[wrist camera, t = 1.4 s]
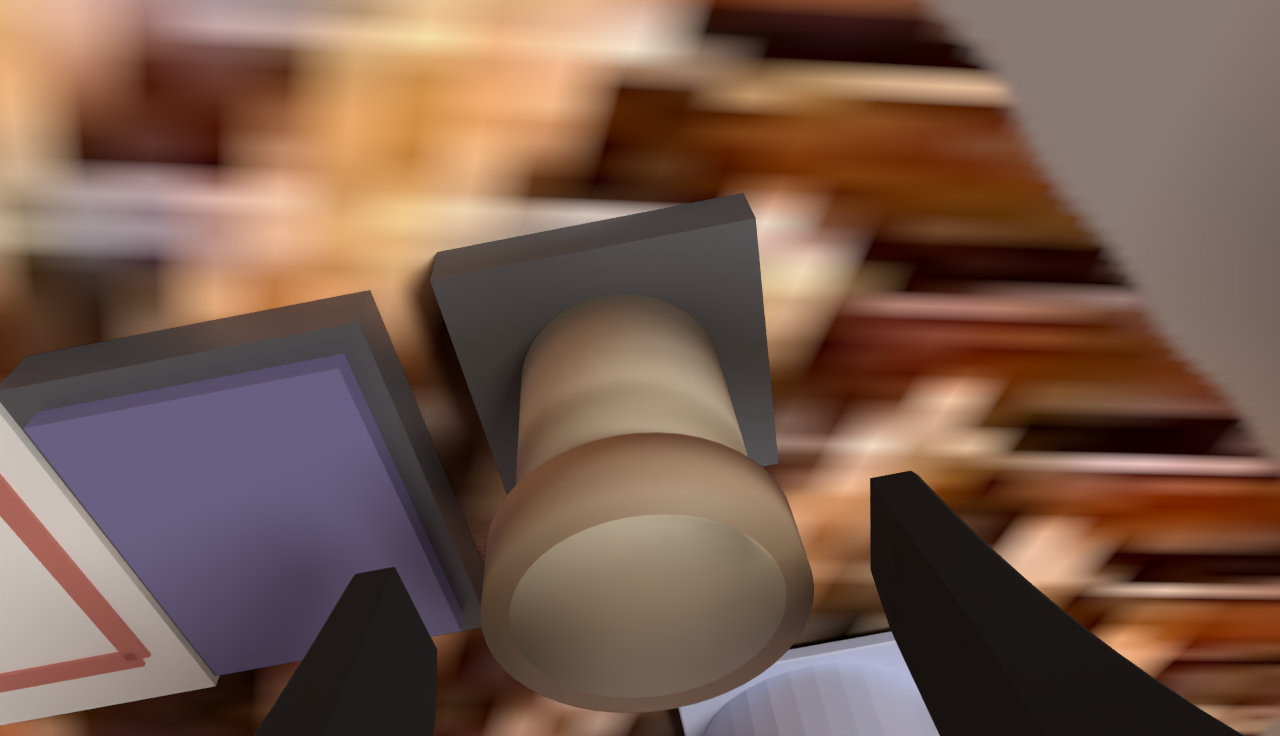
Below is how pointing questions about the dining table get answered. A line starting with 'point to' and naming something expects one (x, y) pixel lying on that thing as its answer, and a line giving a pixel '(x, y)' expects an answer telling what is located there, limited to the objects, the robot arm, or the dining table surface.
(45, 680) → the paper
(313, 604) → the ink pad
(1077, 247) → the dining table surface
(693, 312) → the stamp
